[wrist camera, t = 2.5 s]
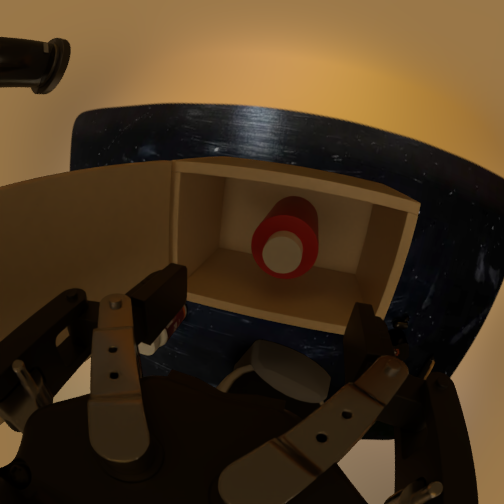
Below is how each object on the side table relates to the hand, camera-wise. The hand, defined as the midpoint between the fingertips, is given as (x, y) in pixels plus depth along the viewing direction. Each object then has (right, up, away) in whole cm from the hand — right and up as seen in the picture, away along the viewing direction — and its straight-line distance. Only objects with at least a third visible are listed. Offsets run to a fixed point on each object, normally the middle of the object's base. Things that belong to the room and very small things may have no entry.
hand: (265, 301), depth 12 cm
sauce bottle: (+4, +5, +15) cm, 16 cm away
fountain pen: (+24, -18, +20) cm, 36 cm away
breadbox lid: (-10, +1, -1) cm, 10 cm away
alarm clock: (+4, -15, +23) cm, 28 cm away
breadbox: (+4, +6, +15) cm, 17 cm away
